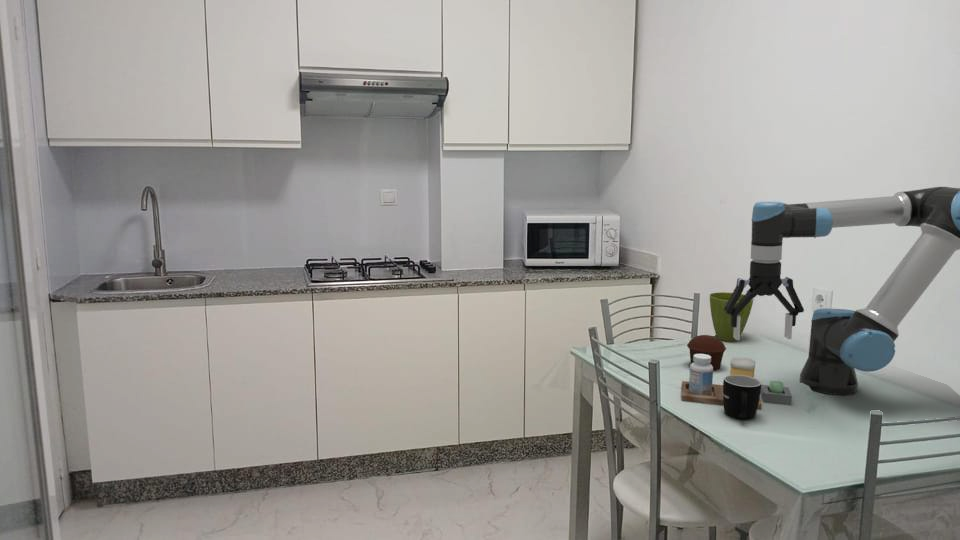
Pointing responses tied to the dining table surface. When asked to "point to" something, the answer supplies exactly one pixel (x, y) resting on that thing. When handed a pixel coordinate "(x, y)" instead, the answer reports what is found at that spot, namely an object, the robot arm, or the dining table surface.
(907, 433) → the dining table surface
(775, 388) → the button plunger
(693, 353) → the muffin
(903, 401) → the dining table surface
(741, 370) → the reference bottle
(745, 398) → the mug
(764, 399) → the button housing
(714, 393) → the pallet board
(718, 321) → the flower pot
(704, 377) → the pill bottle
